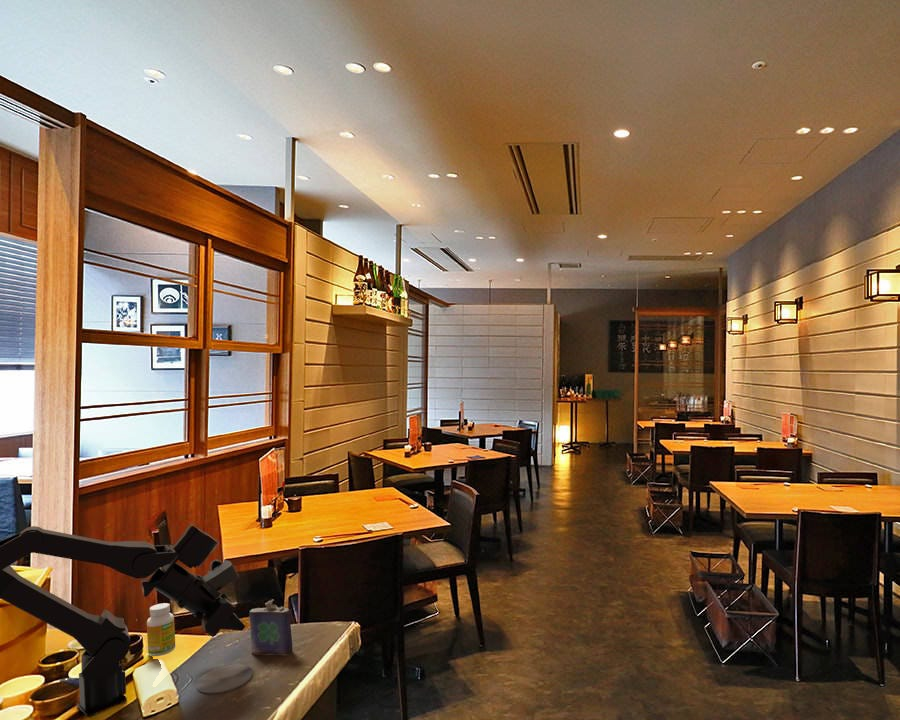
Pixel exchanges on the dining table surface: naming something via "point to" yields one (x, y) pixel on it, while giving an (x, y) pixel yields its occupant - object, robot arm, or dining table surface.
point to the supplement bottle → (160, 630)
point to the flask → (270, 630)
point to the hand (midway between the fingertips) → (243, 628)
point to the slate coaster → (224, 679)
